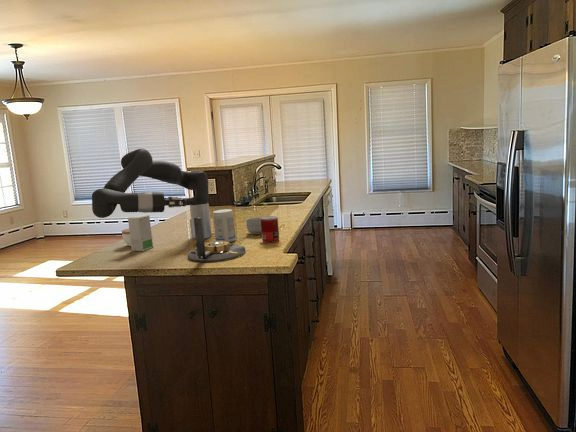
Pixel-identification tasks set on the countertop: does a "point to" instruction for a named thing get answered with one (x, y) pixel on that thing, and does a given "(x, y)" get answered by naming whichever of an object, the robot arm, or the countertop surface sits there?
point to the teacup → (254, 225)
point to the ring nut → (206, 248)
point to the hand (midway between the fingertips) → (194, 201)
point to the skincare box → (140, 232)
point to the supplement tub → (224, 225)
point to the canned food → (269, 229)
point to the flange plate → (220, 256)
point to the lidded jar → (126, 236)
